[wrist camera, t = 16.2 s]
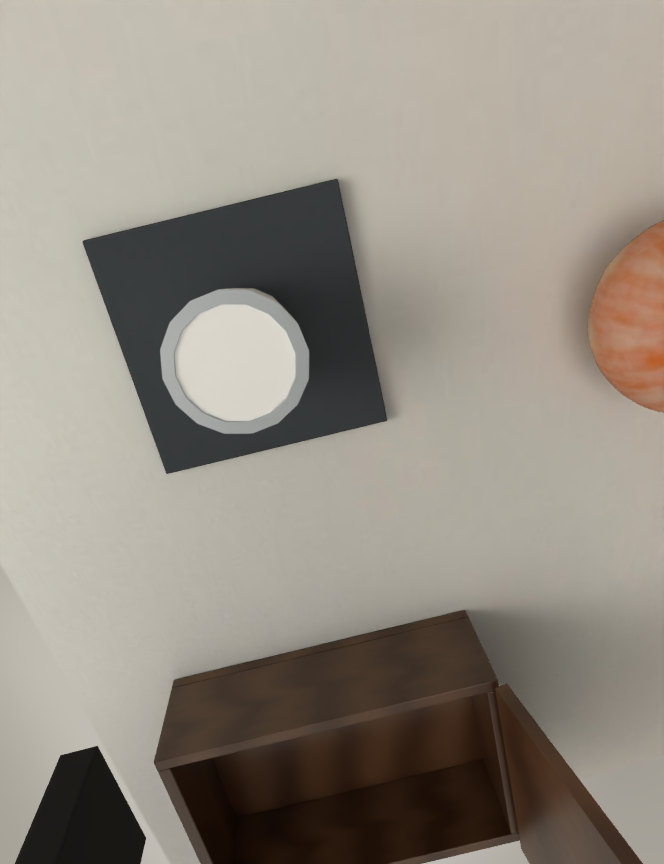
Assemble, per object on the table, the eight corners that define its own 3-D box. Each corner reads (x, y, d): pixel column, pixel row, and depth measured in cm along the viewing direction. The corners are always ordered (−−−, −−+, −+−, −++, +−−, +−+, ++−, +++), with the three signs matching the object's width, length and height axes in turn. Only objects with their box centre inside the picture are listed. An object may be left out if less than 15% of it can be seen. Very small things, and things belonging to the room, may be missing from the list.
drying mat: (168, 470, 36) (166, 474, 35) (85, 240, 31) (81, 240, 30) (385, 417, 36) (387, 420, 35) (336, 179, 31) (337, 178, 30)
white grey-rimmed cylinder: (177, 383, 33) (150, 421, 27) (193, 263, 31) (169, 273, 25) (293, 405, 34) (294, 447, 28) (316, 290, 32) (324, 306, 26)
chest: (230, 817, 46) (222, 911, 40) (173, 679, 41) (153, 762, 35) (490, 755, 46) (523, 839, 40) (465, 609, 41) (498, 679, 35)
